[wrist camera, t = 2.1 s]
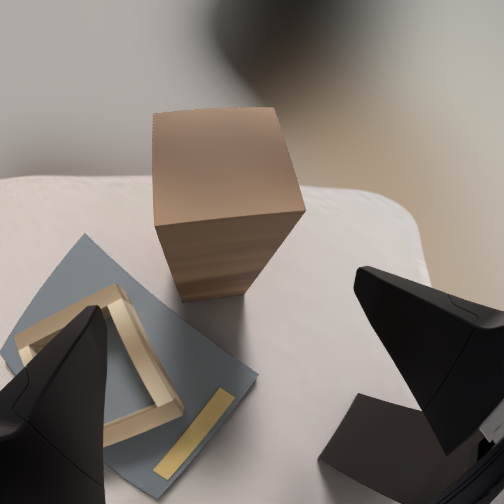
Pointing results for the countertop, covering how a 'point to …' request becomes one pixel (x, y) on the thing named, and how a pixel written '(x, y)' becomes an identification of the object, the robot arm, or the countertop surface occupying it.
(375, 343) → the countertop surface
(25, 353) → the maple socket
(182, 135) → the walnut block
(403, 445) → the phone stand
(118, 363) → the slate board
